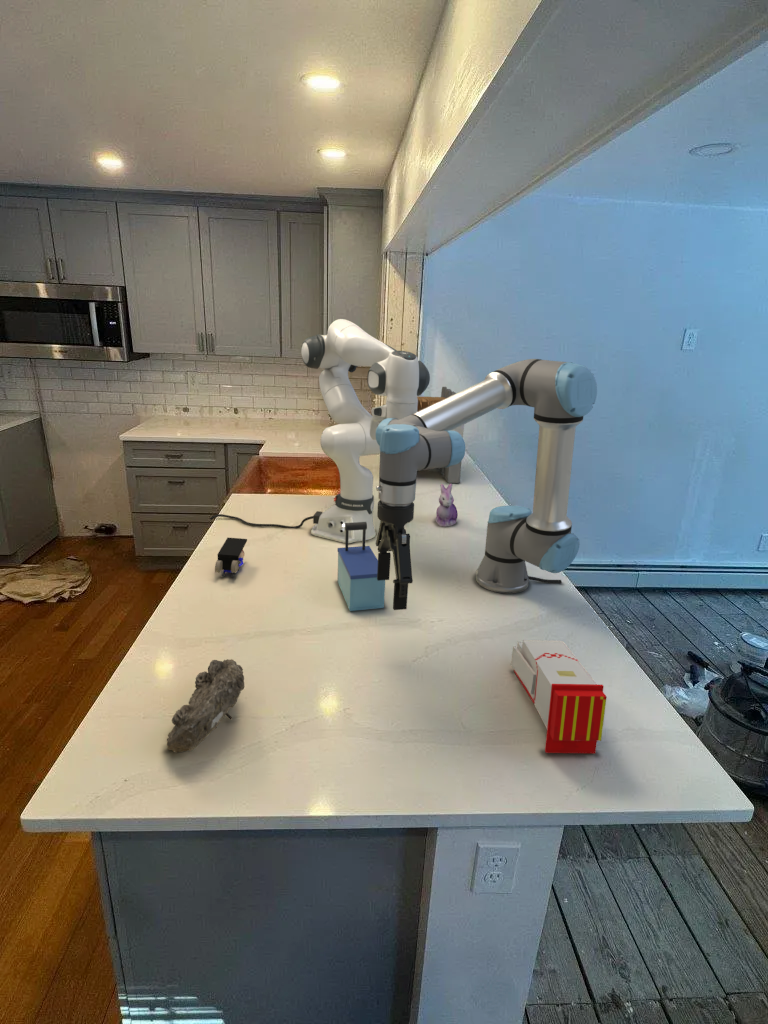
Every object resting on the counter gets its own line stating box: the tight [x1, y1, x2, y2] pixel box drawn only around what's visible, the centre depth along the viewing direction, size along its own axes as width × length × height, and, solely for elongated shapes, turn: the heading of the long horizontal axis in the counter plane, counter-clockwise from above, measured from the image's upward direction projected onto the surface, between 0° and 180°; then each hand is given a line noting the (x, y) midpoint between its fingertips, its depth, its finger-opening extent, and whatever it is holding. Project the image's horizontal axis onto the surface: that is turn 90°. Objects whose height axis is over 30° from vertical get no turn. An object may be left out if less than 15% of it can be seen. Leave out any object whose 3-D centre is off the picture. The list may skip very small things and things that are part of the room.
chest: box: [337, 552, 386, 612], centre depth 155 cm, size 17×9×9 cm, turn 15°
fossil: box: [166, 658, 245, 754], centre depth 106 cm, size 22×10×15 cm
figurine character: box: [214, 537, 248, 578], centre depth 166 cm, size 7×8×15 cm
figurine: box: [434, 483, 459, 527], centre depth 210 cm, size 9×10×15 cm
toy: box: [510, 639, 607, 754], centre depth 114 cm, size 12×13×30 cm
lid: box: [337, 522, 378, 579], centre depth 152 cm, size 18×9×9 cm, turn 15°
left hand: (399, 460), depth 162 cm, fingers open, 8 cm apart
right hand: (390, 593), depth 123 cm, fingers open, 13 cm apart
